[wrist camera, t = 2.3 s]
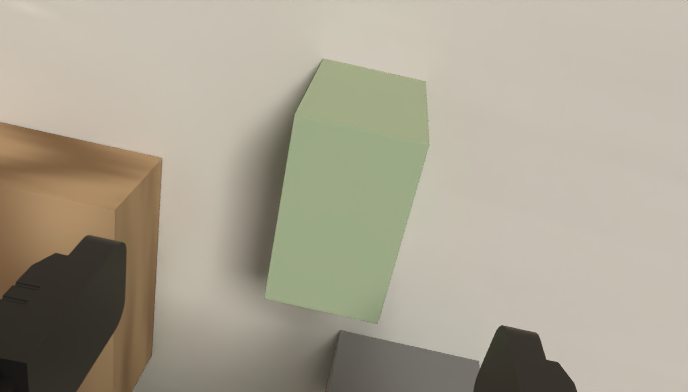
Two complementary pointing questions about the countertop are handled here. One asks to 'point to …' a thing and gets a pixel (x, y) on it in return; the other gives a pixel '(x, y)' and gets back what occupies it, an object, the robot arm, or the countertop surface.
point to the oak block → (84, 228)
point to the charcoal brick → (396, 368)
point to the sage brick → (348, 190)
